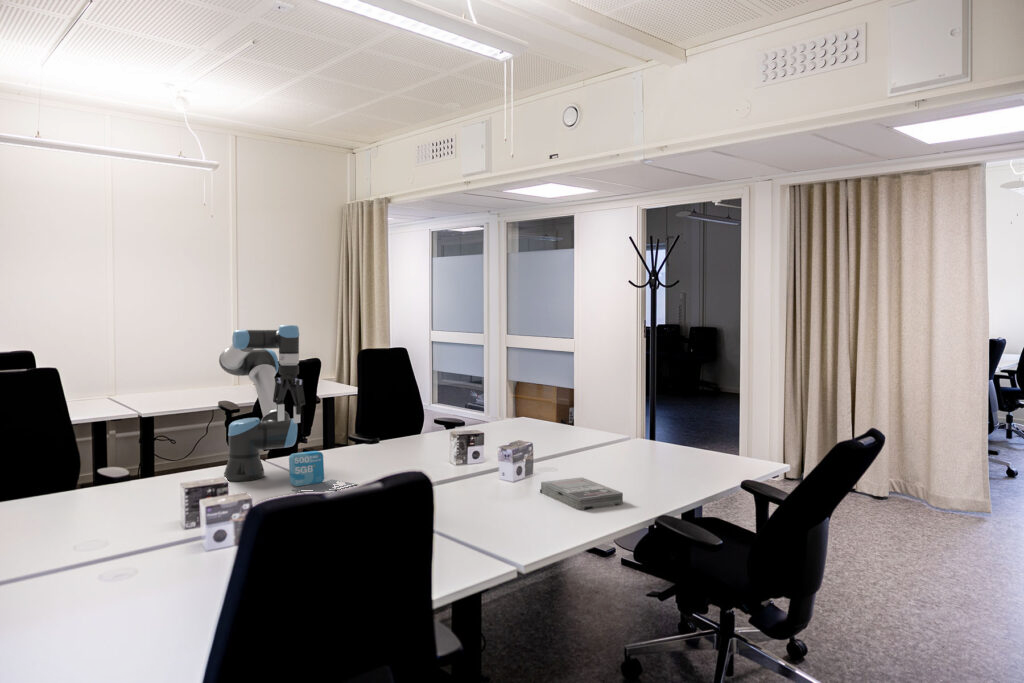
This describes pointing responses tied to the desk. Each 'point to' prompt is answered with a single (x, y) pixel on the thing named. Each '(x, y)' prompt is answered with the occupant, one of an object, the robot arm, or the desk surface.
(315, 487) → the mat
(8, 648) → the desk surface
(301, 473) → the data package
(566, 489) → the grey flat block
